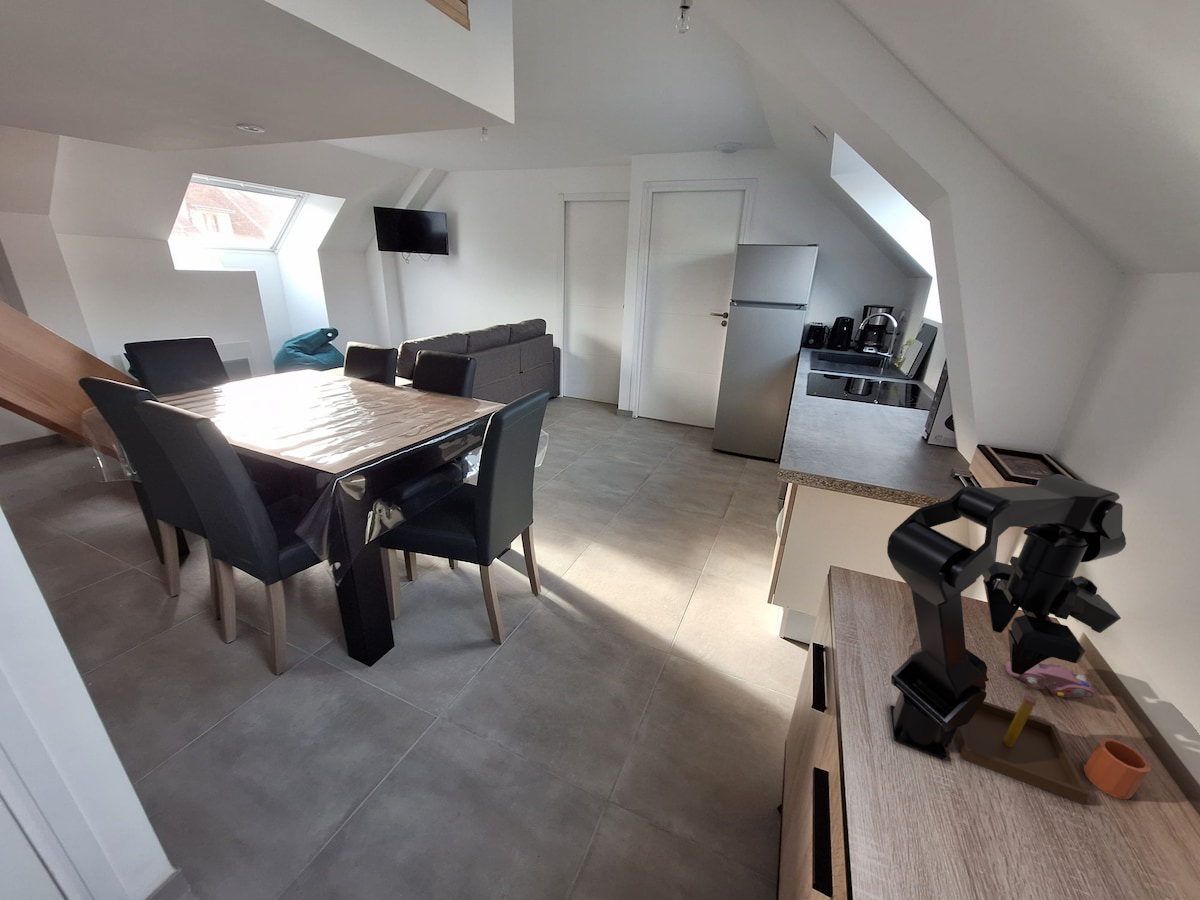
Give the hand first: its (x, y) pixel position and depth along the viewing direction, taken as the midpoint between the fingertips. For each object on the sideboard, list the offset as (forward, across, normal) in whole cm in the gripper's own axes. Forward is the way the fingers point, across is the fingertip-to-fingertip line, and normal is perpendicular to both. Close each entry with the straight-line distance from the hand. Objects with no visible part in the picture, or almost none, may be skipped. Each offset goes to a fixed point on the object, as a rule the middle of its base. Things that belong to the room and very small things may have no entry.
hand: (1005, 650), depth 68 cm
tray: (+12, -6, -2) cm, 14 cm away
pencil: (+12, -6, -2) cm, 13 cm away
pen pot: (+12, -6, -13) cm, 19 cm away
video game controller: (+12, +10, -11) cm, 19 cm away
